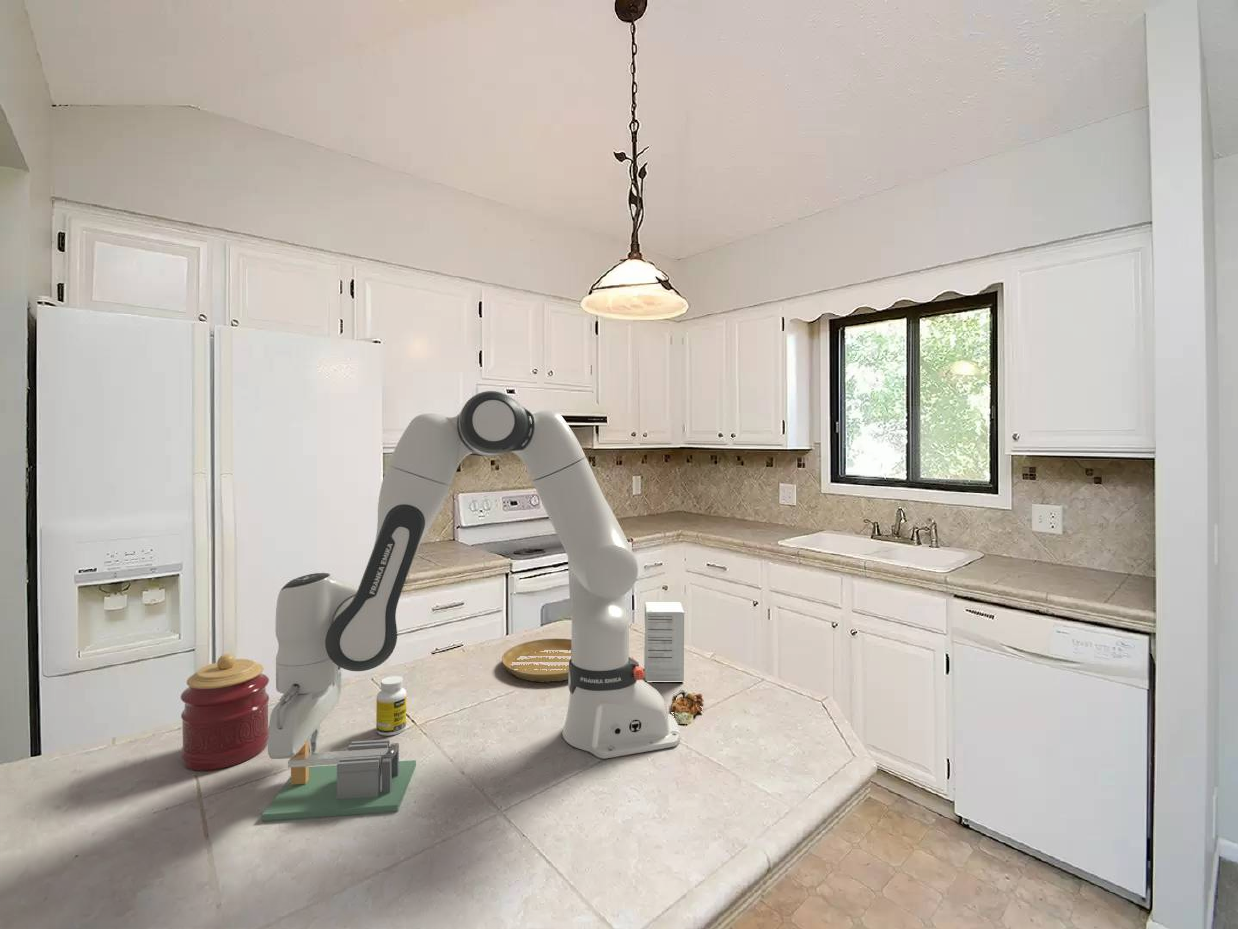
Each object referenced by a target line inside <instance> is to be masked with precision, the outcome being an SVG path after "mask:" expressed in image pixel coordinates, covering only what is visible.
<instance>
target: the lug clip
mask: <svg viewBox="0 0 1238 929" xmlns="http://www.w3.org/2000/svg"><path fill="white" fill-rule="evenodd" d="M307 753H309V745H308V740H307V741H306V742H305V744H304V745H303V746H302V747H301V749H300V750H299V751H298V752H297V754H307ZM309 767H310V766H304V767H290V778H291V785H296V784H306V783H307V781H308V780H309Z"/></svg>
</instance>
